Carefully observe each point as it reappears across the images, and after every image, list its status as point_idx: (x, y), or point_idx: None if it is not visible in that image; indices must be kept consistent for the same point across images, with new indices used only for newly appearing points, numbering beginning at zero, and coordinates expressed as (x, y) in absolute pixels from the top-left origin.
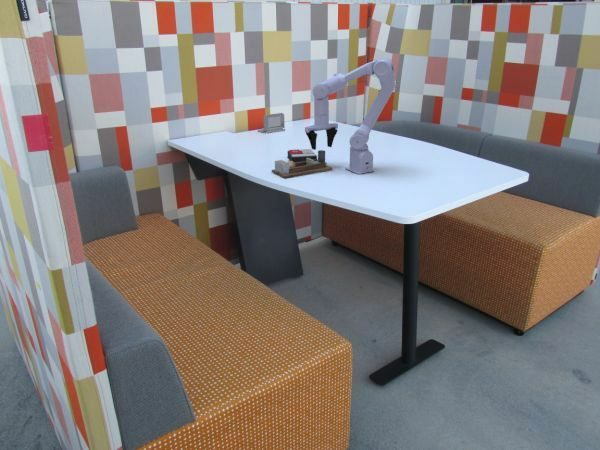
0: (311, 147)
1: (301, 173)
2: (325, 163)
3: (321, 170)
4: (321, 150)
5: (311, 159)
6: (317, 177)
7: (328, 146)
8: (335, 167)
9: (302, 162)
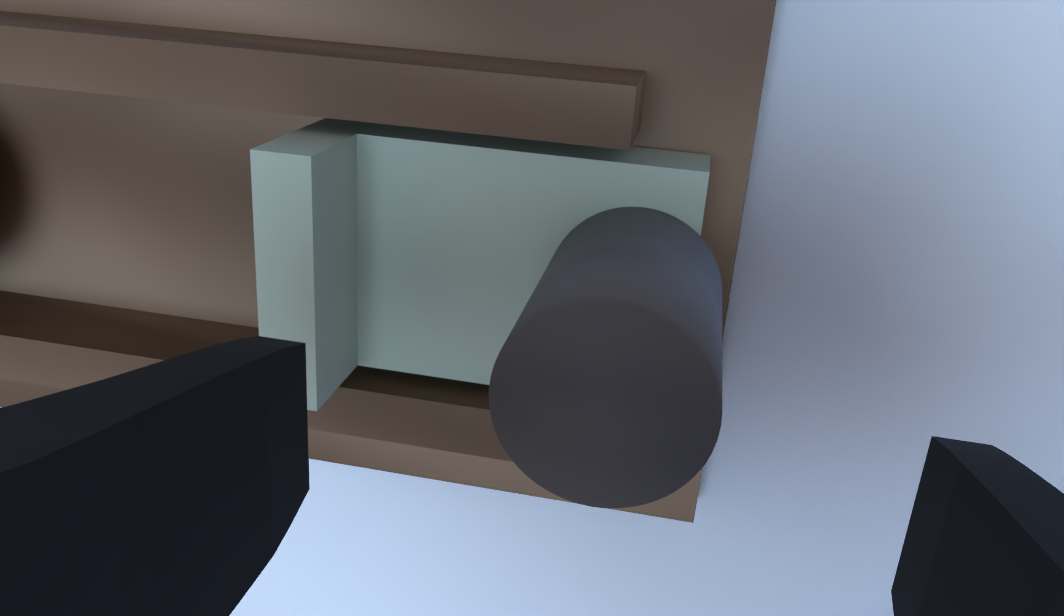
0: (220, 351)
1: None
2: None
3: (451, 475)
4: (662, 339)
5: (294, 336)
6: (258, 602)
7: (918, 493)
8: (888, 399)
9: (207, 102)
